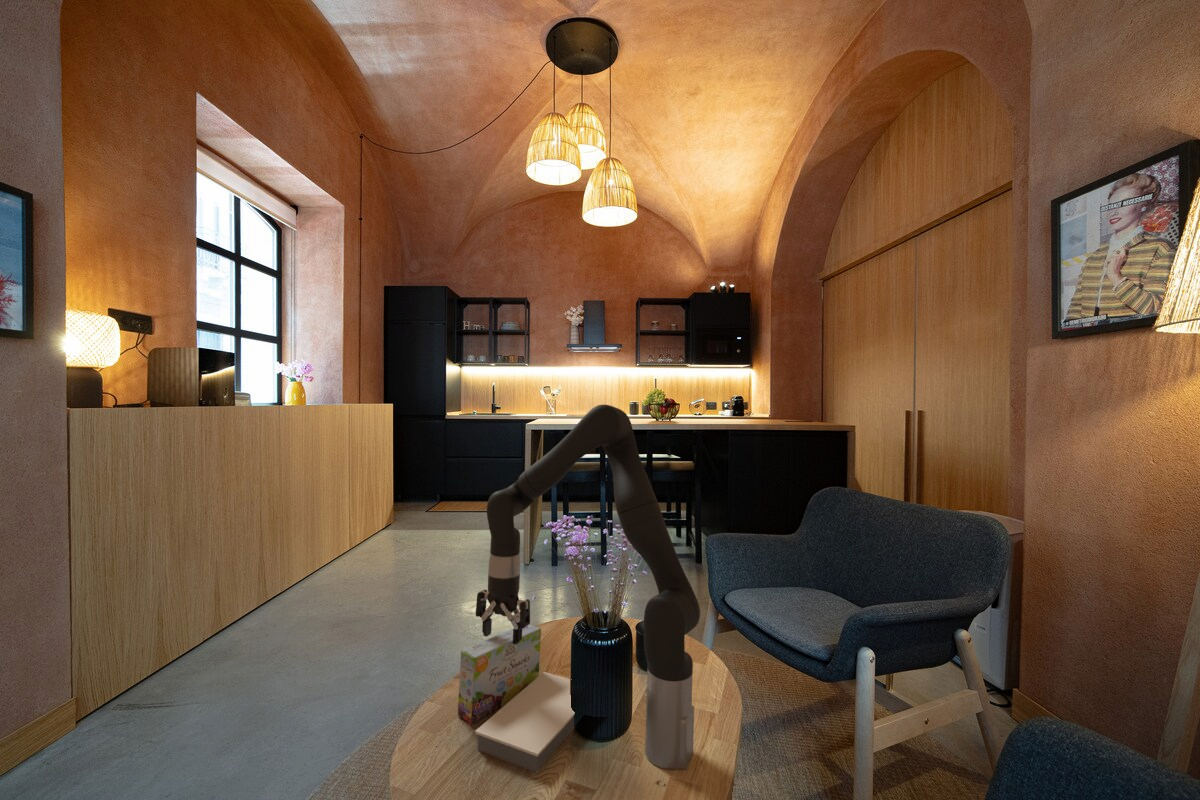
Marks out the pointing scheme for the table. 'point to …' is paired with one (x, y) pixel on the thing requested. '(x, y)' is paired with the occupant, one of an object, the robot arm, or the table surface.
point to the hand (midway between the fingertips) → (501, 639)
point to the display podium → (530, 723)
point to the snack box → (497, 672)
